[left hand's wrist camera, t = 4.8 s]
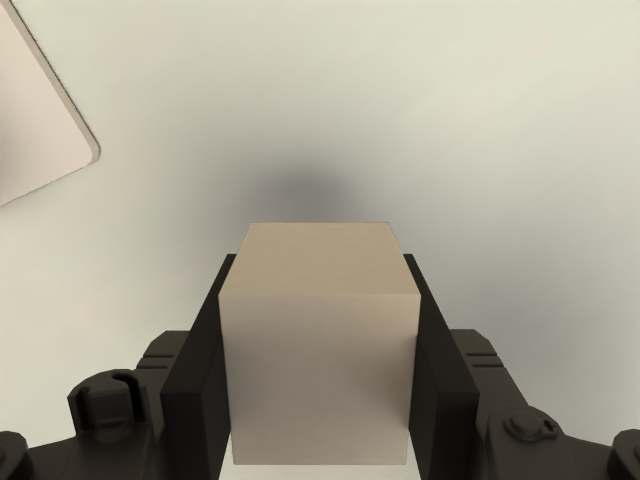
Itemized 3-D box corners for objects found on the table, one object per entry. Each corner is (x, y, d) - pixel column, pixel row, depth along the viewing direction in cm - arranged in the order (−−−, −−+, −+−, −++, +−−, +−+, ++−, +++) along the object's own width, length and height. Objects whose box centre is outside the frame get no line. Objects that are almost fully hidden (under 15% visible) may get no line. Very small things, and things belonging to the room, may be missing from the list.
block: (389, 221, 14) (421, 294, 10) (381, 352, 16) (406, 465, 11) (250, 221, 14) (217, 294, 10) (258, 352, 16) (233, 465, 11)
